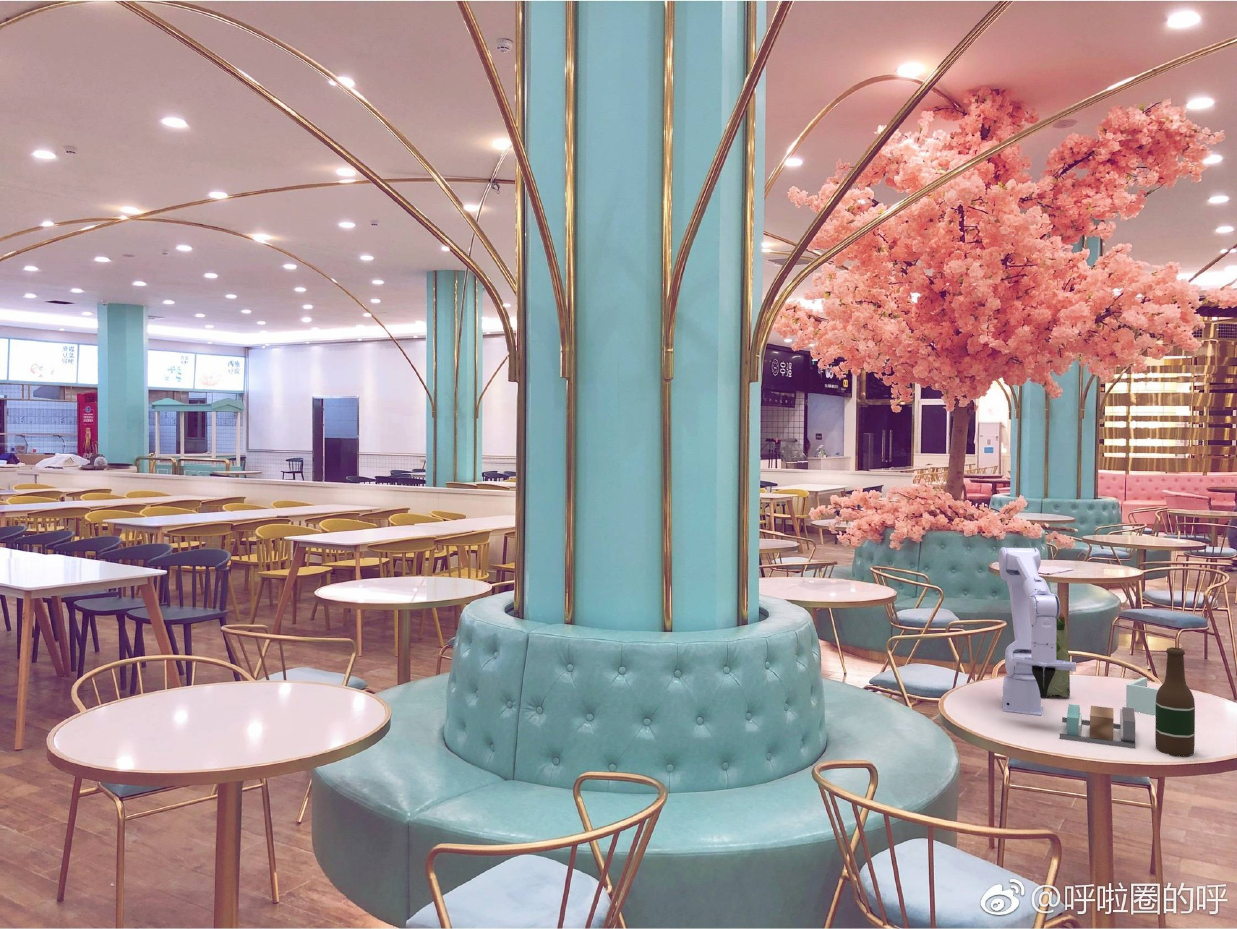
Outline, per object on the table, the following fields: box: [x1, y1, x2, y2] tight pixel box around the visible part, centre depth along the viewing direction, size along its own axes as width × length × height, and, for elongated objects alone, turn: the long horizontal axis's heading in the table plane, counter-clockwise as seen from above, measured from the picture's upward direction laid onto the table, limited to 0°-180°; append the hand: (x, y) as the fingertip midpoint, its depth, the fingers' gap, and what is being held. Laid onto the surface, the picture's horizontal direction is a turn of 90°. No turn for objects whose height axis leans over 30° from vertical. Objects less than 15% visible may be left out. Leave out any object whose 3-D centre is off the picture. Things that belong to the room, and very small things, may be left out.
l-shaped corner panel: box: [1125, 677, 1159, 717], centre depth 248 cm, size 12×12×8 cm
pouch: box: [1043, 612, 1071, 698], centre depth 264 cm, size 11×12×25 cm
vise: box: [1059, 706, 1136, 750], centre depth 227 cm, size 16×16×6 cm
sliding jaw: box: [1066, 703, 1083, 736], centre depth 229 cm, size 3×13×5 cm, turn 152°
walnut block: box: [1089, 705, 1115, 740], centre depth 226 cm, size 5×10×6 cm, turn 152°
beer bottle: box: [1154, 647, 1196, 758], centre depth 214 cm, size 8×8×24 cm
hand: (1043, 696), depth 232 cm, fingers closed
